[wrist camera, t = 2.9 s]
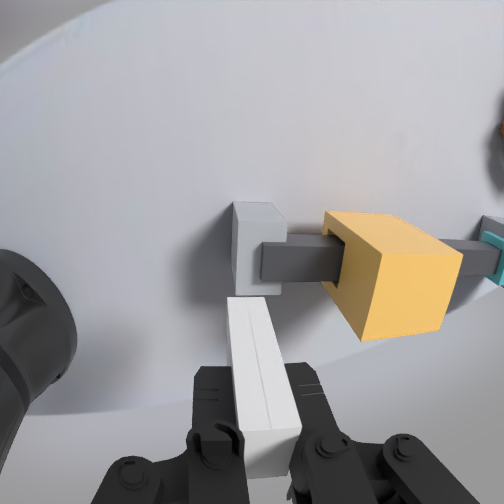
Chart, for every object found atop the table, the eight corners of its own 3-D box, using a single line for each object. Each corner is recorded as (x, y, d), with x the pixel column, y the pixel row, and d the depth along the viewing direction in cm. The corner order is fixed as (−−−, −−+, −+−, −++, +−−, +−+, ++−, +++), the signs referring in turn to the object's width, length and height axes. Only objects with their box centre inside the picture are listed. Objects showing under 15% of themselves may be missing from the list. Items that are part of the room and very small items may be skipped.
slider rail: (230, 268, 26) (239, 332, 17) (233, 195, 23) (244, 230, 15) (494, 265, 30) (542, 297, 21) (505, 218, 27) (559, 244, 19)
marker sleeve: (316, 276, 24) (360, 341, 16) (325, 210, 22) (382, 254, 14) (381, 274, 25) (439, 330, 17) (393, 215, 23) (463, 254, 15)
